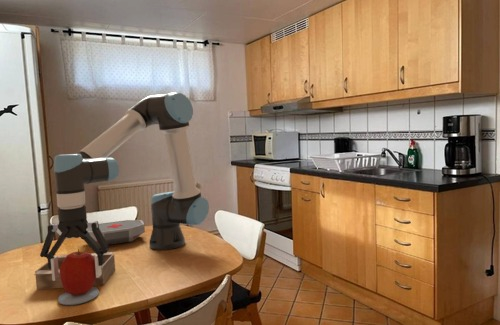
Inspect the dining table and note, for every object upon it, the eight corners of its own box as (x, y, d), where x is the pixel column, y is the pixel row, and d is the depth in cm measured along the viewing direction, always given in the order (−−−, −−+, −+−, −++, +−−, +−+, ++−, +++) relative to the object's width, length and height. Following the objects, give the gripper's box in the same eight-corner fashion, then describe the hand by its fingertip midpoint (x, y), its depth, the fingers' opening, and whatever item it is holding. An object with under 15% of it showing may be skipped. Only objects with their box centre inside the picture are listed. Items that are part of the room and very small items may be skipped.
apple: (62, 304, 102) (62, 255, 102) (56, 292, 110) (56, 247, 110) (101, 295, 108) (101, 249, 108) (93, 285, 117) (92, 242, 116)
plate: (103, 288, 115) (103, 285, 115) (91, 304, 104) (90, 301, 104) (67, 291, 115) (67, 288, 114) (51, 307, 104) (51, 304, 103)
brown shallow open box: (117, 267, 134) (116, 251, 133) (100, 288, 116) (99, 270, 115) (58, 271, 132) (57, 255, 132) (32, 292, 114) (31, 274, 114)
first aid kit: (86, 251, 155) (146, 242, 165) (85, 234, 154) (145, 226, 164) (86, 240, 171) (141, 233, 181) (85, 225, 170) (140, 218, 180)
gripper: (117, 201, 112) (122, 270, 114) (35, 206, 110) (42, 275, 112) (109, 206, 104) (114, 279, 106) (22, 211, 103) (29, 285, 104)
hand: (77, 277), depth 109 cm, fingers open, 12 cm apart
